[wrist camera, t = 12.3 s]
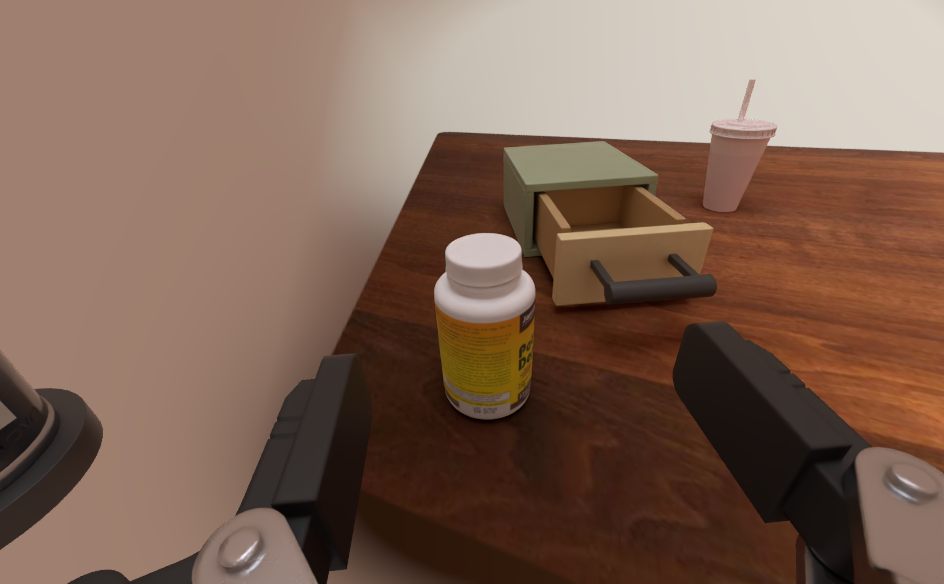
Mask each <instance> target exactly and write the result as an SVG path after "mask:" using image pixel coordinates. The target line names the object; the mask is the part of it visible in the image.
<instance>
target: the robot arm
mask: <svg viewBox="0 0 944 584" xmlns="http://www.w3.org/2000/svg"><path fill="white" fill-rule="evenodd" d="M673 382H674V387H675V389H676V392H677V394H678V396H679V397H680V399H681V400H682V402H683V403H684V404H685V406H686V407H687V409H688V410H689V412H690V413H691V415H692V416H693V418H694V419H695V421H696V422H697V424H698V425H699V426H700V428H701V429H702V431H703V432H704V434H705V435H706V437H707V438H708V440H709V441H710V443H711V444H712V446H713V447H714V449H715V450H716V451H717V453H718V454H719V456H720V457H721V459H722V460H723V462H724V463H725V465H726V466H727V468H728V469H729V471H730V472H731V474H732V475H733V476H734V478H735V479H736V481H737V482H738V484H739V485H740V487H741V488H742V490H743V491H744V493H745V494H746V496H747V497H748V498H749V500H750V501H751V503H752V504H753V506H754V507H755V509H756V510H757V512H758V513H759V515H760V516H761V518H762V519H763V521H764V522H765V523H770V522H780V521H789V520H790V522H791V523H792V525H793V526H794V527H795V529H796V530H797V531H798V533H799V535H798V537H797V540H796V577H797V584H944V474H943V473H942V472H940V471H939V470H938V469H936V468H934V467H933V466H931V465H930V464H928V463H926V462H924V461H922V460H920V459H918V458H916V457H914V456H912V455H909V454H906V453H904V452H901V451H897V450H894V449H889V448H882V447H872V446H871V445H870V444H868V443H867V442H866V441H865V440H864V439H863V438H862V437H861V436H860V435H859V434H858V433H857V432H855V431H854V430H853V429H852V428H851V427H850V426H849V425H848V424H847V423H846V422H845V421H844V420H843V419H842V418H841V417H839V416H838V415H837V414H836V413H835V412H834V411H833V410H832V409H831V408H830V407H829V406H828V405H827V404H826V403H824V402H823V401H822V400H821V399H820V398H819V397H818V396H817V395H816V394H815V393H814V392H813V391H812V390H811V389H809V388H806V387H805V384H804V383H803V382H802V381H801V380H800V379H799V378H798V377H797V376H796V375H795V374H791V373H790V370H789V369H788V368H787V367H786V366H785V365H784V364H783V363H782V362H781V361H780V360H778V359H777V358H776V357H775V356H774V355H773V354H772V353H770V352H768V351H767V350H765V349H763V348H761V347H760V346H758V345H756V344H754V343H753V342H751V341H749V340H744V339H743V338H742V337H741V336H740V335H739V334H738V333H737V332H736V331H735V330H734V329H733V328H732V327H731V326H730V325H729V324H728V323H726V322H723V321H719V322H707V323H695V324H690V325H688V326H687V328H686V329H685V332H684V335H683V339H682V342H681V345H680V349H679V352H678V355H677V359H676V362H675V366H674V369H673ZM371 421H372V407H371V399H370V395H369V391H368V387H367V383H366V379H365V375H364V371H363V367H362V364H361V360H360V357H359V355H358V354H357V353H354V354H342V355H331V356H325V357H324V358H323V359H322V361H321V364H320V367H319V370H318V372H317V375H316V378H315V379H310V380H302V381H301V382H300V383H299V384H298V385H297V386H296V387H295V388H294V389H293V390H292V392H291V393H290V394H289V395H288V396H287V397H286V398H285V401H284V403H283V405H282V408H281V410H280V412H279V415H278V417H277V422H275V424H274V427H273V429H272V432H271V434H270V439H268V441H267V443H266V446H265V448H264V451H263V453H262V455H261V458H260V460H259V462H258V465H257V467H256V470H255V472H254V474H253V477H252V480H251V482H250V484H249V486H248V489H247V491H246V493H245V496H244V498H243V500H242V503H241V505H240V507H239V509H238V511H237V513H236V515H235V516H234V517H233V518H231V519H229V520H228V521H227V522H225V523H224V524H222V525H221V526H220V527H219V528H218V529H217V530H216V531H215V532H214V533H213V534H212V535H211V536H210V537H209V539H208V540H207V541H206V543H205V544H204V545H203V547H202V548H201V550H200V551H199V552H197V553H195V554H193V555H192V556H190V557H187V558H186V559H183V560H181V561H179V562H176V563H174V564H171V565H169V566H166V567H164V568H162V569H159V570H157V571H154V572H152V573H149V574H147V575H145V576H142V577H140V578H137V579H135V580H133V581H129V580H128V579H127V578H126V577H125V576H124V575H122V574H121V573H119V572H117V571H115V570H100V571H95V572H91V573H89V574H86V575H83V576H81V577H79V578H77V579H75V580H73V581H71V582H69V583H68V584H327V579H328V574H329V571H335V570H344V569H347V564H348V558H349V552H350V546H351V540H352V534H353V529H354V523H355V517H356V511H357V505H358V499H359V493H360V487H361V481H362V476H363V470H364V464H365V458H366V452H367V446H368V440H369V434H370V428H371ZM58 426H59V415H58V413H57V411H56V410H55V409H54V408H53V406H52V405H51V404H50V403H49V402H48V401H47V400H46V399H45V398H43V397H42V396H40V395H39V394H38V393H37V392H36V391H35V390H34V389H33V388H32V386H31V385H30V384H29V383H28V382H27V381H26V380H25V378H24V377H23V376H22V375H21V374H20V373H19V372H18V370H17V369H16V368H15V367H14V365H13V364H12V363H11V362H10V361H9V359H8V358H7V357H6V356H5V355H4V354H3V353H2V352H1V350H0V492H1V491H2V490H3V489H4V488H6V487H7V486H8V485H10V484H11V483H12V482H13V481H15V480H16V479H17V478H18V477H19V476H20V475H22V474H23V473H24V472H25V471H26V470H27V469H28V468H29V467H30V466H31V465H32V464H33V463H34V462H35V461H36V460H37V459H38V458H39V457H40V456H41V455H42V454H43V452H44V451H45V450H46V448H47V447H48V446H49V444H50V443H51V441H52V440H53V438H54V436H55V434H56V432H57V429H58Z"/></svg>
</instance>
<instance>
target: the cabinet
mask: <svg viewBox="0 0 944 584" xmlns="http://www.w3.org/2000/svg"><path fill="white" fill-rule="evenodd" d="M658 176H659V175H657V174H656V173H654V172H653V171H651V170H649V169H648V168H646V167H644V166H643V165H641V164H640V163H638V162H636V161H635V160H633V159H632V158H630V157H628V156H627V155H625V154H624V153H622V152H620V151H619V150H617V149H616V148H614V147H612V146H611V145H609V144H608V143H606V142H604V141H600V142H585V143H570V144H555V145H540V146H524V147H509V148H504V208H505V211H506V213H507V216H508V218H509V221H510V223H511V225H512V228H513V230H514V233H515V235H516V238H517V240H518V243H519V244H520V246H521V250H522V253H523V255H524V257H532V256H542V254H541V252H540V250H539V248H538V246H537V244H536V242H535V240H534V238H533V236H532V235H533V208H534V192H540V191H554V190H569V189H583V188H597V187H611V186H625V185H640V186H641V187H643V188H644V189H646V190H647V191H648V192H650V193H651V194H652V195H654V196H655V192H656V187H657V181H658Z"/></svg>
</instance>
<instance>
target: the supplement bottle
mask: <svg viewBox="0 0 944 584" xmlns="http://www.w3.org/2000/svg"><path fill="white" fill-rule="evenodd" d="M445 256H446V272H445V273H444V274H443V275H442V276H441V277H440V278H439V280H438V281H437V283H436V286H435V289H434V298H435V309H436V317H437V326H438V334H439V344H440V353H441V362H442V370H443V380H444V387H445V392H446V395H447V398H448V399H449V401H450V403H451V404H452V405H453V406H454V407H455V408H456V409H457V410H458V411H460V412H461V413H463V414H465V415H467V416H470V417H473V418H477V419H497V418H502V417H505V416H507V415H510V414H512V413H514V412H515V411H516V410H518V409H519V408H520V407H521V406H522V405H523V404H524V403H525V401H526V400H527V398H528V396H529V393H530V388H531V373H532V353H533V333H534V314H535V286H534V283H533V281H532V279H531V277H530V276H529V275H528V274H527V273H526V272H525V271H523V270H522V250H521V246H520V244H519V243H518V242H517V241H516V240H514V239H512V238H510V237H508V236H504V235H500V234H493V233H480V234H472V235H467V236H464V237H461V238H459V239H456V240H454V241H453V242H452V243H450V244H449V245H448V247H447V248H446V252H445Z"/></svg>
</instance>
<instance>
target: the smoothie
mask: <svg viewBox="0 0 944 584" xmlns="http://www.w3.org/2000/svg"><path fill="white" fill-rule="evenodd" d="M754 83H755V80H749V84H748V87H747V91H746V94H745V97H744V101H743V104H742V108H741V111H740V115H739V118H738V119H725V120H718V121H715V122H713V123H712V125H711V129H710V133H711V134H712V138H711V145H710V153H709V161H708V168H707V176H706V183H705V191H704V198H703V207H705V208H706V209H709V210H712V211H717V212H732V211H735V210H736V209H737V207H738V204H739V202H740V200H741V198H742V196H743V194H744V192H745V190H746V188H747V186H748V184H749V181H750V179H751V177H752V175H753V173H754V171H755V169H756V167H757V165H758V163H759V161H760V158H761V156H762V154H763V152H764V150H765V148H766V146H767V143H768V141H769V140H770V138H771V137H774V136H775V131H776V129H777V125H775V124H774V123H770V122H766V121H760V120H750V119H744V117H745V114H746V111H747V107H748V104H749V100H750V97H751V93H752V90H753V87H754Z"/></svg>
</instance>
